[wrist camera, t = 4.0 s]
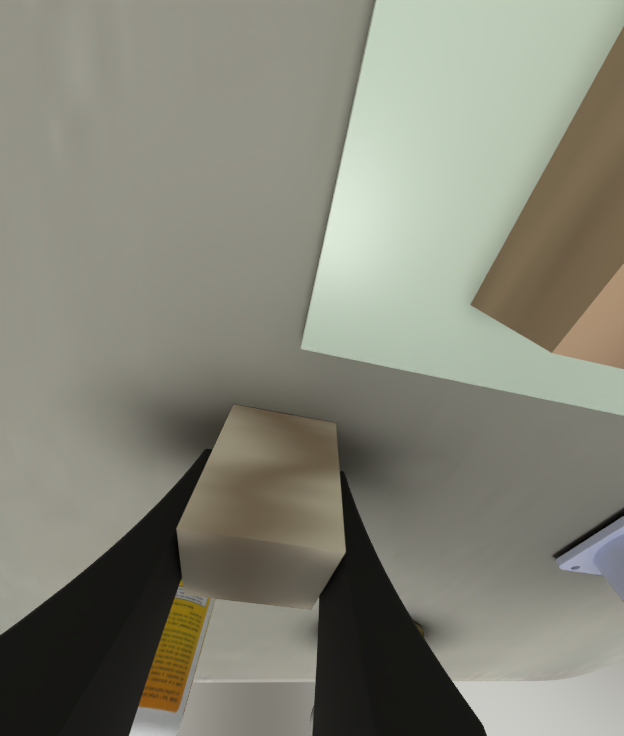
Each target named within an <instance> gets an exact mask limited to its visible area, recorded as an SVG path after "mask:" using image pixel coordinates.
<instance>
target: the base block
mask: <svg viewBox="0 0 624 736" xmlns="http://www.w3.org/2000/svg"><path fill="white" fill-rule="evenodd" d="M470 305H471V306H473V307H475V308H476V309H478V310H480V311H481V312H483V313H485V314H487V315H488V316H490V317H492V318H493V319H495V320H497V321H498V322H500V323H502V324H503V325H505V326H507V327H509V328H510V329H512V330H514V331H515V332H517V333H519V334H520V335H522V336H524V337H525V338H527V339H529V340H531V341H532V342H534V343H536V344H537V345H539V346H541V347H542V348H544V349H546V350H547V351H549V352H551V353H554V354H558V355H563V356H567V357H571V358H576V359H580V360H585V361H589V362H594V363H598V364H603V365H607V366H612V367H616V368H620V369H624V26H623V28H622V30H621V32H620V34H619V35H618V37H617V39H616V41H615V43H614V45H613V46H612V48H611V50H610V52H609V54H608V55H607V57H606V59H605V61H604V63H603V65H602V66H601V68H600V70H599V72H598V74H597V75H596V77H595V79H594V81H593V83H592V85H591V86H590V88H589V90H588V92H587V94H586V95H585V97H584V99H583V101H582V103H581V104H580V106H579V108H578V110H577V112H576V114H575V115H574V117H573V119H572V121H571V123H570V124H569V126H568V128H567V130H566V132H565V134H564V135H563V137H562V139H561V141H560V143H559V144H558V146H557V148H556V150H555V152H554V154H553V155H552V157H551V159H550V161H549V163H548V164H547V166H546V168H545V170H544V172H543V173H542V175H541V177H540V179H539V181H538V183H537V184H536V186H535V188H534V190H533V192H532V193H531V195H530V197H529V199H528V201H527V203H526V204H525V206H524V208H523V210H522V212H521V213H520V215H519V217H518V219H517V221H516V223H515V224H514V226H513V228H512V230H511V232H510V233H509V235H508V237H507V239H506V241H505V243H504V244H503V246H502V248H501V250H500V252H499V253H498V255H497V257H496V259H495V261H494V262H493V264H492V266H491V268H490V270H489V272H488V273H487V275H486V277H485V279H484V281H483V282H482V284H481V286H480V288H479V290H478V292H477V293H476V295H475V297H474V299H473V301H472V302H471V304H470Z"/></svg>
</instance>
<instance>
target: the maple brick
mask: <svg viewBox="0 0 624 736" xmlns="http://www.w3.org/2000/svg"><path fill="white" fill-rule="evenodd" d="M176 530H177V538H178V547H179V555H180V564H181V572H182V580H183V589H184V595H188V596H196V597H205V598H214V599H222V600H231V601H239V602H248V603H256V604H265V605H274V606H282V607H291V608H299V609H308V610H311V609H312V607H313V606H314V604H315V602H316V601H317V599H318V597H319V596H320V594H321V592H322V591H323V589H324V587H325V586H326V584H327V582H328V581H329V579H330V577H331V576H332V574H333V572H334V571H335V569H336V567H337V566H338V564H339V562H340V561H341V559H342V557H343V556H344V554H345V552H346V548H345V535H344V522H343V509H342V496H341V482H340V469H339V456H338V443H337V430H336V423H333V422H328V421H322V420H317V419H311V418H306V417H300V416H295V415H289V414H284V413H278V412H273V411H267V410H262V409H257V408H251V407H246V406H240V405H235V404H234V405H233V407H232V409H231V411H230V413H229V415H228V418H227V420H226V422H225V424H224V426H223V428H222V431H221V433H220V435H219V437H218V439H217V441H216V444H215V446H214V448H213V450H212V452H211V454H210V457H209V459H208V461H207V463H206V465H205V468H204V470H203V472H202V474H201V476H200V478H199V481H198V483H197V485H196V487H195V489H194V491H193V494H192V496H191V498H190V500H189V502H188V504H187V507H186V509H185V511H184V513H183V515H182V517H181V520H180V522H179V524H178V526H177V528H176Z"/></svg>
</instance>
